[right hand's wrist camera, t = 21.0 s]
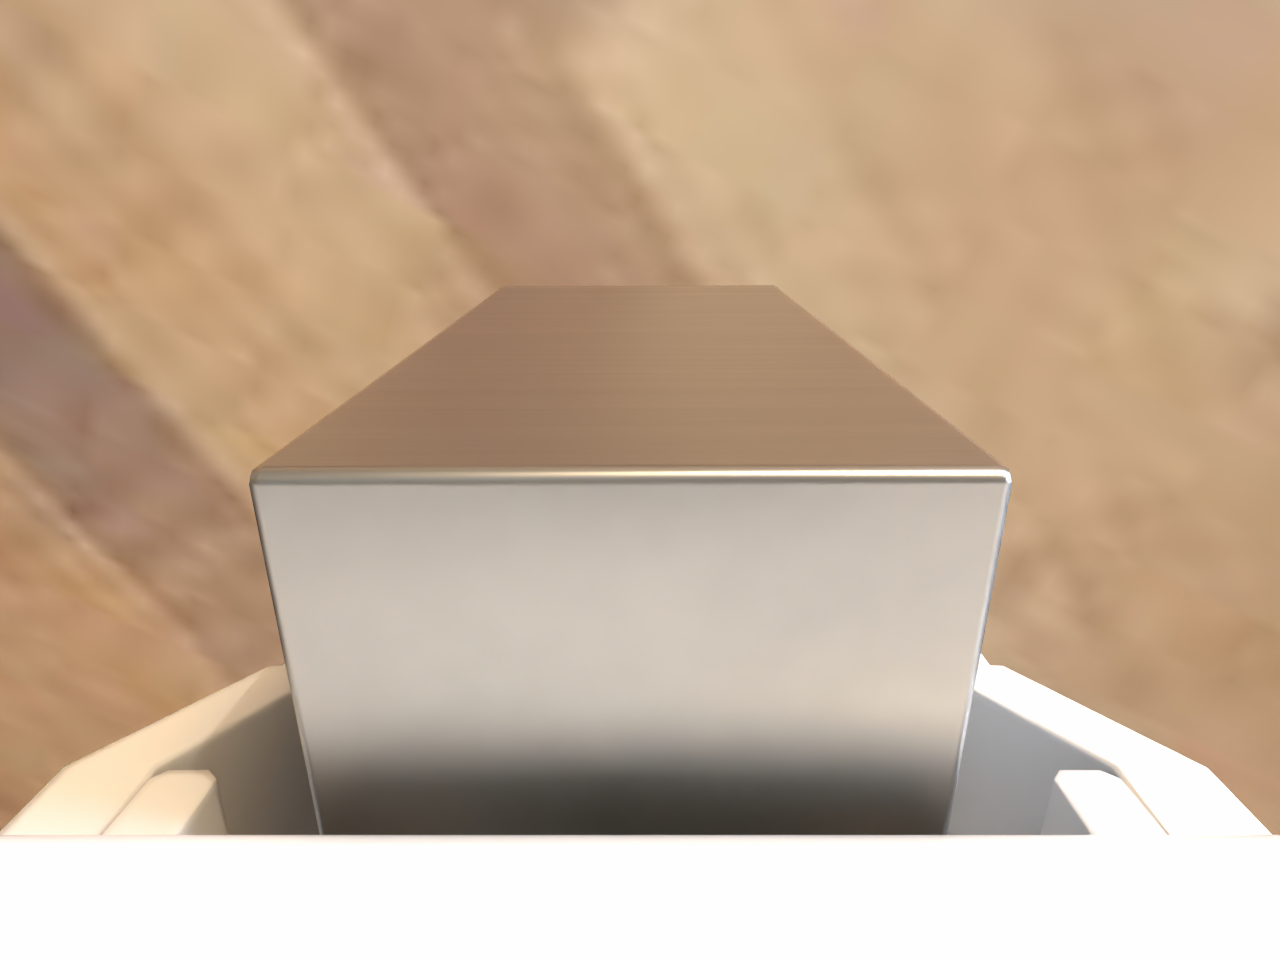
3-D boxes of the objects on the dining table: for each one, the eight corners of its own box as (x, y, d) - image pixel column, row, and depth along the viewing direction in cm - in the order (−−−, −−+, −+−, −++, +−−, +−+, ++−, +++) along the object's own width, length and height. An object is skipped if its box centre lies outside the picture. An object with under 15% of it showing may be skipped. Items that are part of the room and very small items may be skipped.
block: (527, 680, 16) (396, 1236, 8) (500, 285, 13) (238, 470, 5) (754, 680, 16) (878, 1239, 8) (777, 284, 13) (1022, 470, 5)
